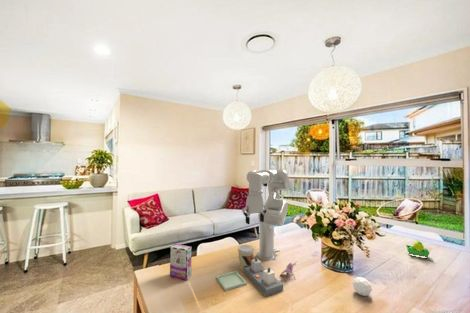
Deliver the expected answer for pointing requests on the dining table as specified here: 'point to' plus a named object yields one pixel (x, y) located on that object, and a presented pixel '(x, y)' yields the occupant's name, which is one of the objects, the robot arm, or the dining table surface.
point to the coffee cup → (245, 256)
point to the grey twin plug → (256, 265)
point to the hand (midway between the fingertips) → (254, 222)
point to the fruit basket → (418, 249)
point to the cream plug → (268, 277)
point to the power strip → (258, 281)
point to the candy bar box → (180, 261)
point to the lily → (289, 268)
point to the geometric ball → (362, 286)
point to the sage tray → (231, 280)
